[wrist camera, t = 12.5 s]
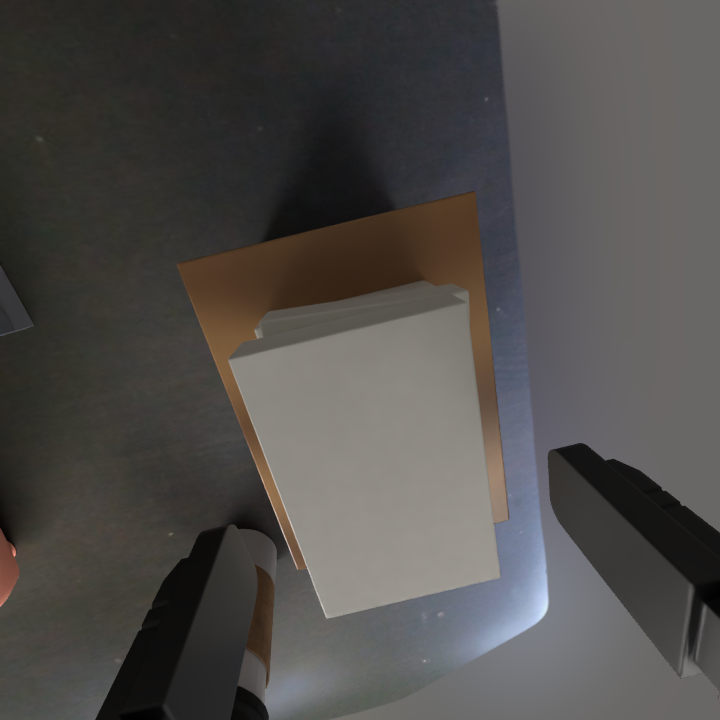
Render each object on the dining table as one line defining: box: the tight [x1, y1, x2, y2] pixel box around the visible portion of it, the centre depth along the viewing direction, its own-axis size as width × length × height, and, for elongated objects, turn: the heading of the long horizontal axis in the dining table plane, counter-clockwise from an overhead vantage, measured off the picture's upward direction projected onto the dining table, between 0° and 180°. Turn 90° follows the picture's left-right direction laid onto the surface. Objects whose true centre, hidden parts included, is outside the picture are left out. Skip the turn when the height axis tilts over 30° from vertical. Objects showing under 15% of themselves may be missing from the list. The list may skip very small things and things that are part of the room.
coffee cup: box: [230, 529, 277, 720], centre depth 26 cm, size 8×8×15 cm
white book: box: [228, 293, 500, 618], centre depth 11 cm, size 9×6×1 cm, turn 13°
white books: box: [254, 280, 470, 339], centre depth 12 cm, size 10×7×3 cm
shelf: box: [177, 191, 509, 570], centre depth 20 cm, size 14×10×14 cm
